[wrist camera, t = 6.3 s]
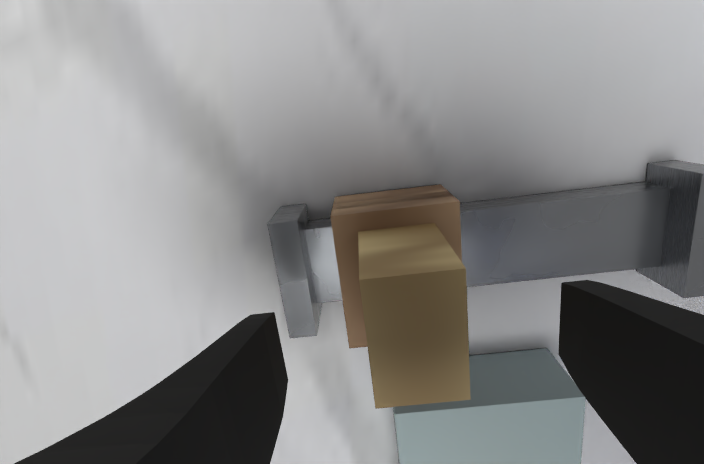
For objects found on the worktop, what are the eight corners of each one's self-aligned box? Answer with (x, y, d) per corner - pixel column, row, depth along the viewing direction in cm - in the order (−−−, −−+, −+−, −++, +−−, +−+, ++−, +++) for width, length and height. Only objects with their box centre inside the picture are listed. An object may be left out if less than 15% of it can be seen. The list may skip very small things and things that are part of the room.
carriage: (440, 184, 15) (501, 238, 8) (446, 298, 16) (502, 415, 10) (334, 196, 15) (320, 259, 9) (350, 308, 16) (347, 430, 10)
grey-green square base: (546, 348, 17) (603, 419, 13) (542, 469, 19) (590, 562, 15) (388, 363, 17) (397, 438, 13) (401, 481, 19) (412, 575, 16)
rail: (675, 160, 14) (735, 169, 12) (661, 268, 16) (713, 294, 14) (280, 206, 15) (267, 223, 13) (298, 306, 16) (289, 338, 14)
